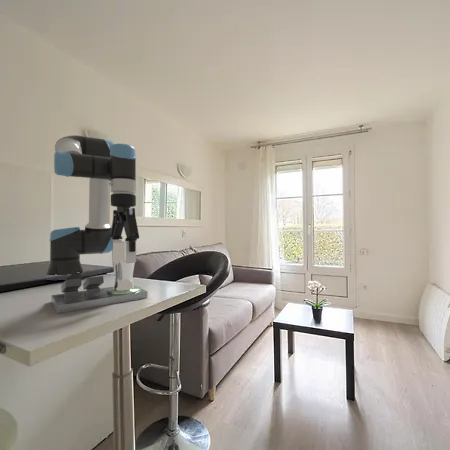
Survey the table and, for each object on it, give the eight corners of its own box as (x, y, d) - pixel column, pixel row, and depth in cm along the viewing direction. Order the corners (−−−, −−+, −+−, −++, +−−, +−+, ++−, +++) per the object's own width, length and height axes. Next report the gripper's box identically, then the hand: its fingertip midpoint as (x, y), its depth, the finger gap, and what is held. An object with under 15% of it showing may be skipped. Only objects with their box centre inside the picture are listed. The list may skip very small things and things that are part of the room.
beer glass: (120, 286, 89) (120, 241, 89) (139, 287, 87) (139, 241, 87) (107, 291, 82) (107, 242, 82) (127, 292, 80) (127, 242, 80)
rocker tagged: (61, 292, 81) (61, 285, 82) (76, 290, 84) (75, 283, 84) (65, 287, 75) (65, 279, 75) (81, 285, 77) (81, 277, 78)
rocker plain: (83, 289, 85) (83, 283, 86) (97, 287, 88) (96, 281, 88) (89, 284, 78) (88, 277, 79) (103, 282, 81) (103, 276, 81)
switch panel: (51, 301, 81) (51, 290, 81) (131, 289, 95) (131, 280, 96) (57, 313, 69) (57, 300, 69) (147, 297, 84) (147, 286, 84)
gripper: (100, 197, 92) (101, 258, 92) (124, 188, 73) (124, 266, 73) (122, 198, 97) (123, 256, 97) (150, 190, 77) (150, 263, 77)
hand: (123, 260), depth 85 cm, fingers open, 13 cm apart
